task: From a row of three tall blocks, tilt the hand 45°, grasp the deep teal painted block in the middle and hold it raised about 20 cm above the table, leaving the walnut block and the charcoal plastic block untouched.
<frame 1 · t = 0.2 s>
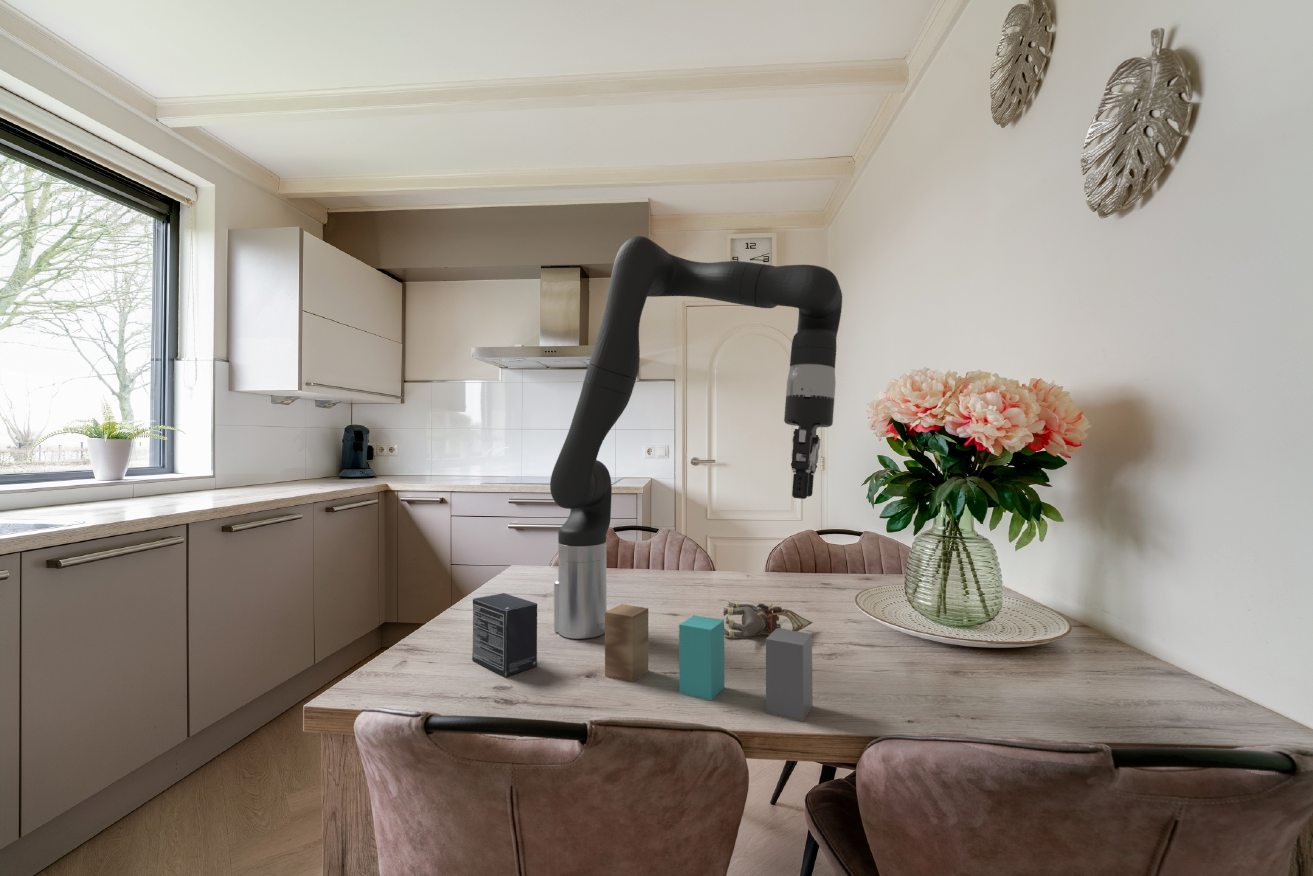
hand: (802, 497, 91), 28 cm above the table, tool pointing down, fingers open, 8 cm apart
walnut block: (626, 673, 90), on the table
small box: (505, 664, 95), on the table
charcoal block: (789, 709, 78), on the table
figurine: (768, 635, 109), on the table
teal block: (702, 690, 84), on the table
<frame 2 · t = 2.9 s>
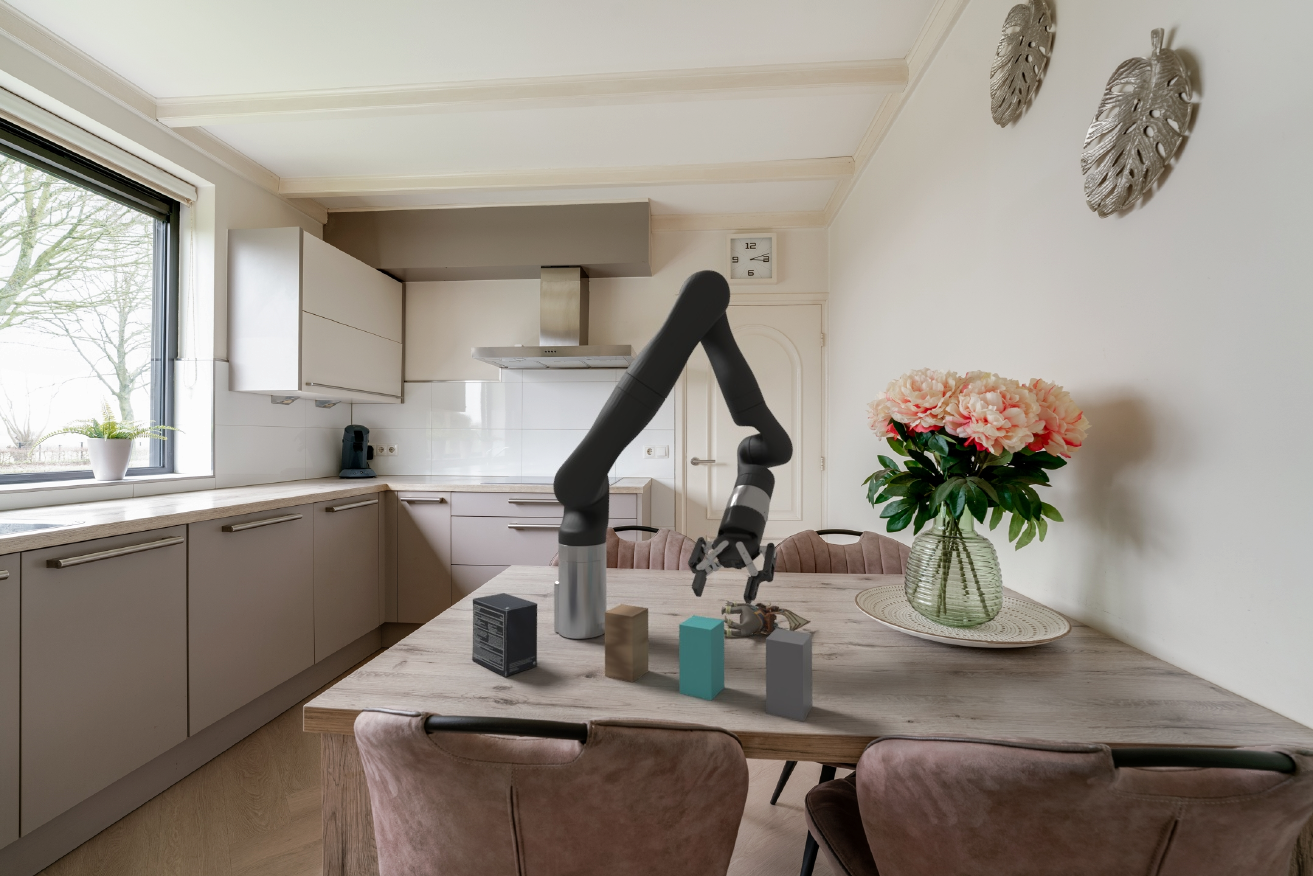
hand: (721, 597, 91), 12 cm above the table, tool tilted 45°, fingers open, 8 cm apart
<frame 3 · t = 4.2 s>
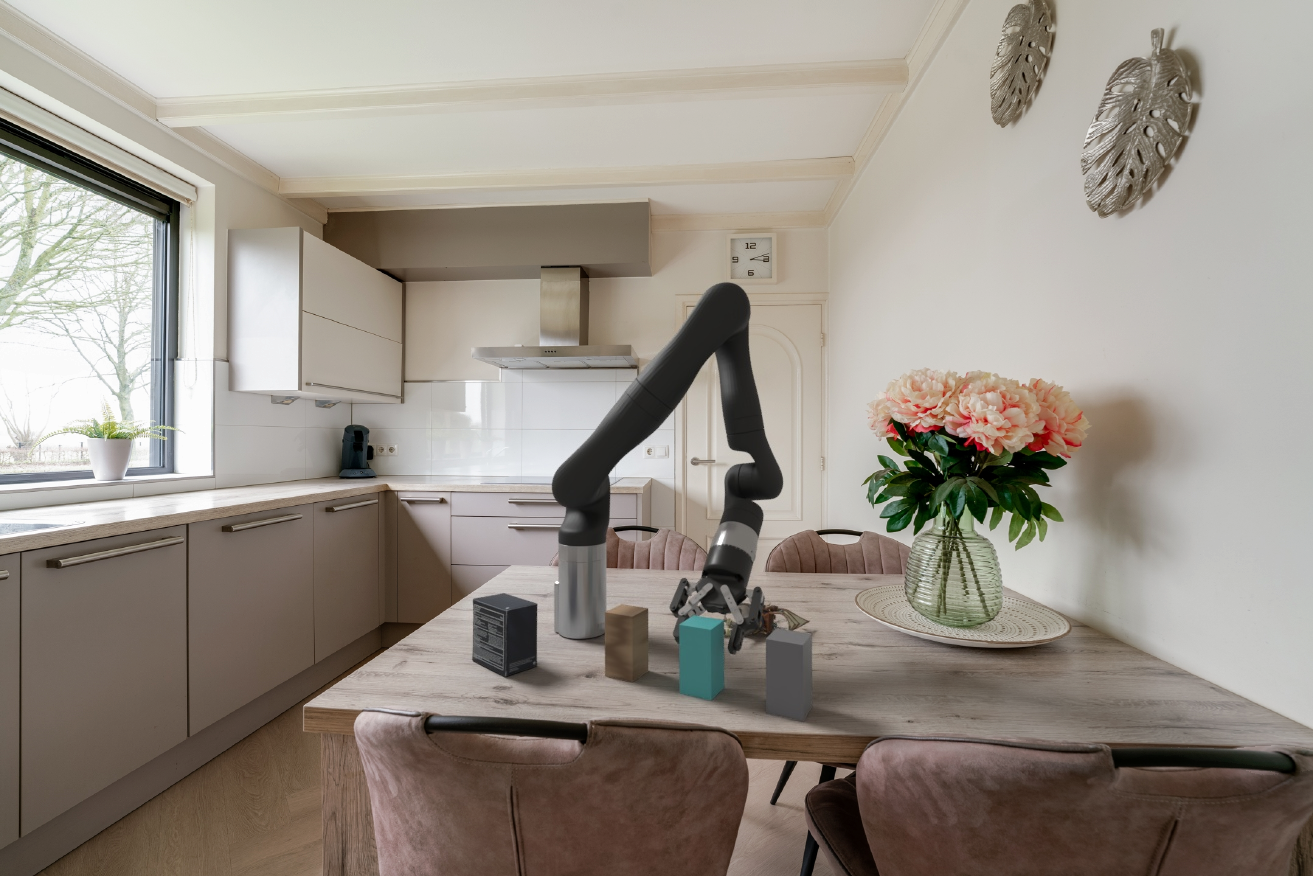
hand: (704, 647, 85), 6 cm above the table, tool tilted 45°, fingers open, 8 cm apart
nothing on the table moved.
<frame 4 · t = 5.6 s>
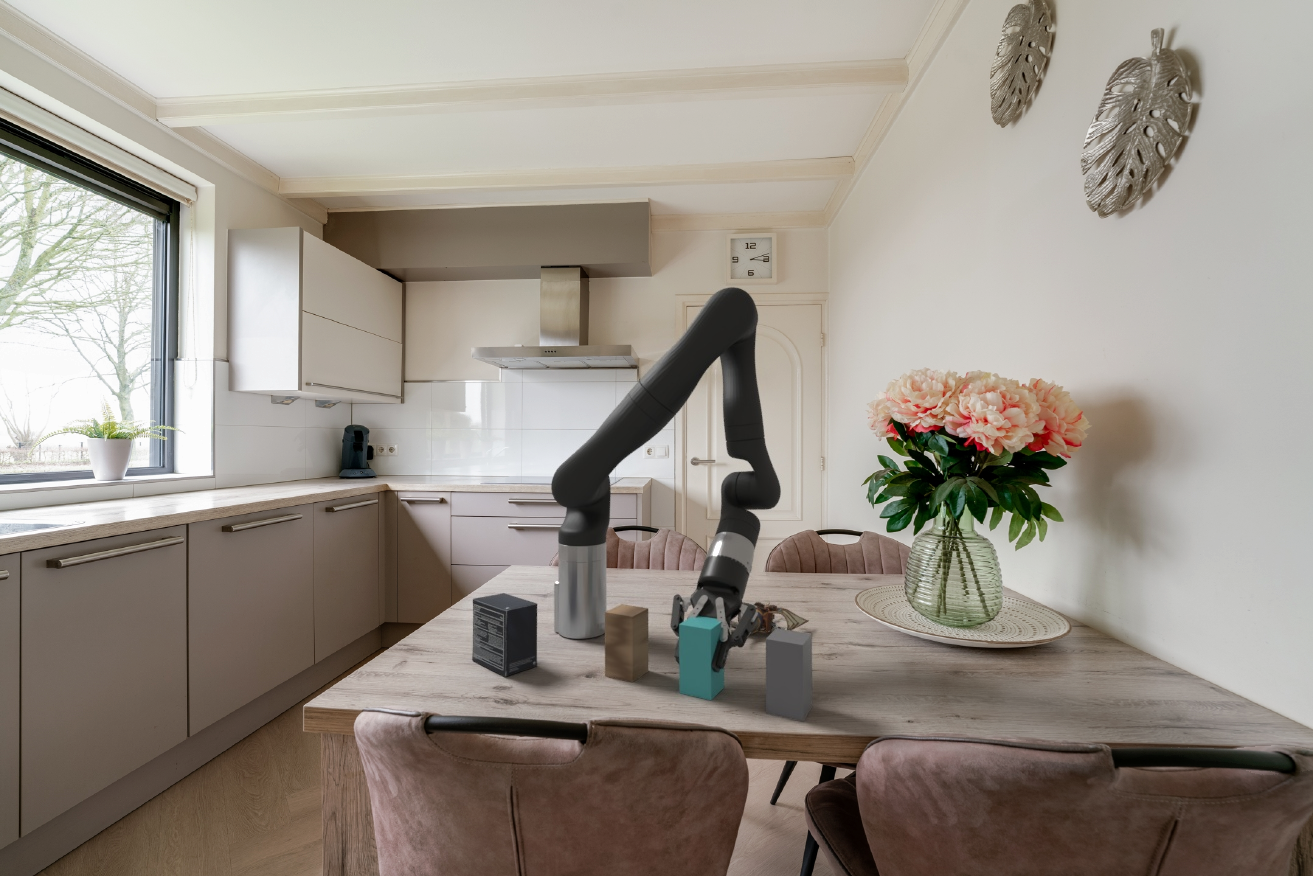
hand: (697, 665, 83), 4 cm above the table, tool tilted 45°, fingers closed on teal block, 5 cm apart
teal block: (702, 690, 84), on the table, touching gripper
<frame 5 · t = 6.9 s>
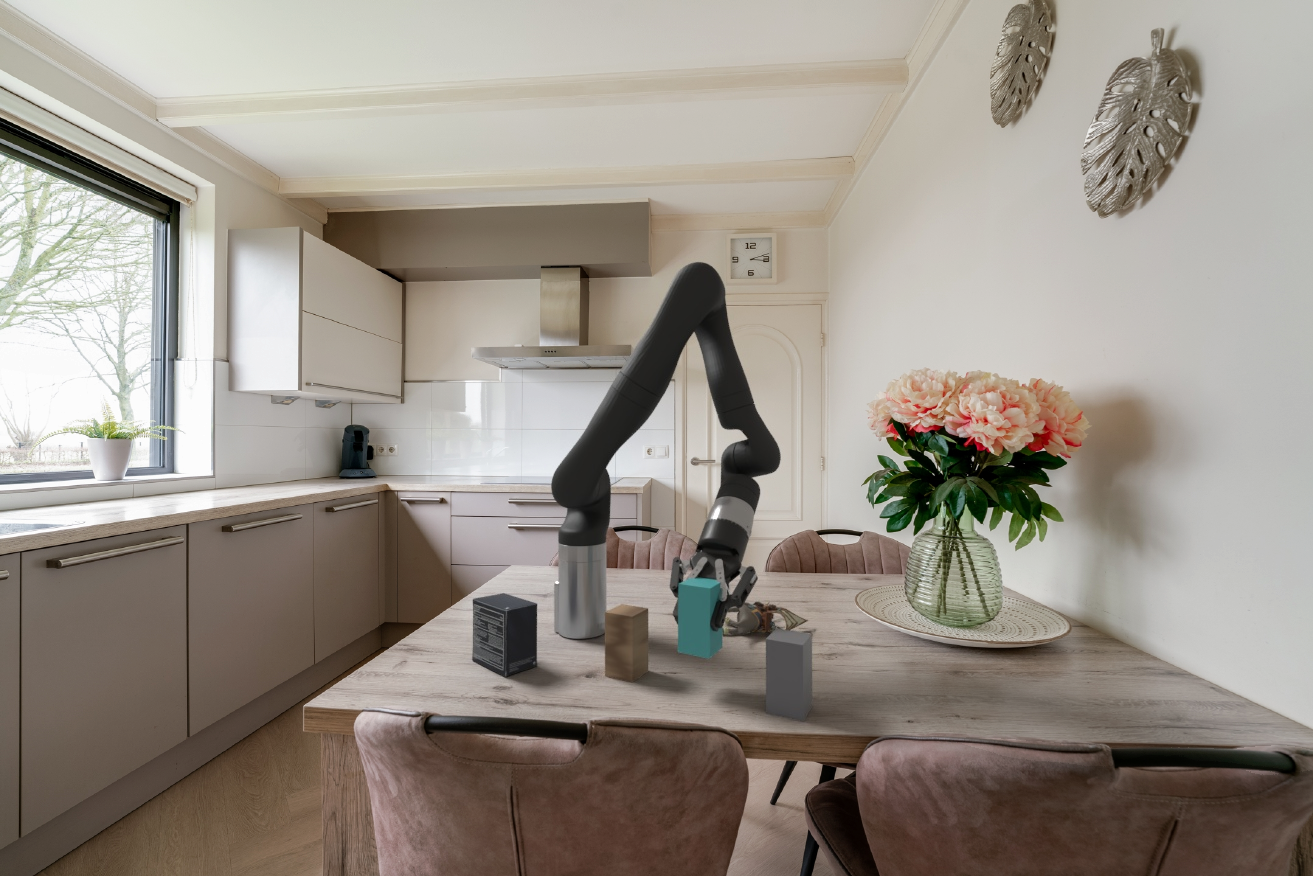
hand: (695, 624, 83), 10 cm above the table, tool tilted 45°, fingers closed on teal block, 5 cm apart
teal block: (700, 649, 85), point 6 cm above the table, touching gripper
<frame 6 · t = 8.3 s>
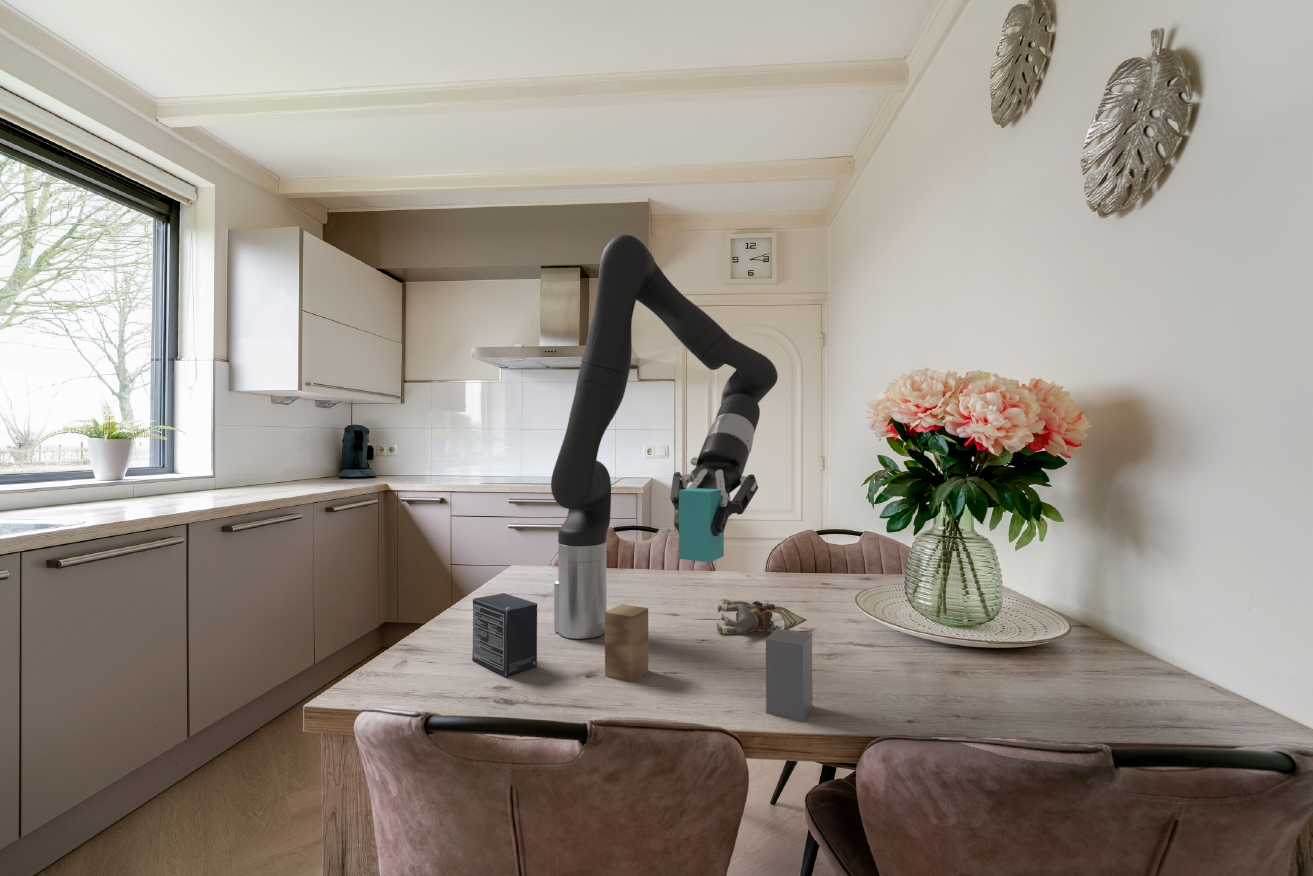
hand: (696, 530, 83), 24 cm above the table, tool tilted 45°, fingers closed on teal block, 5 cm apart
teal block: (701, 557, 84), point 19 cm above the table, touching gripper
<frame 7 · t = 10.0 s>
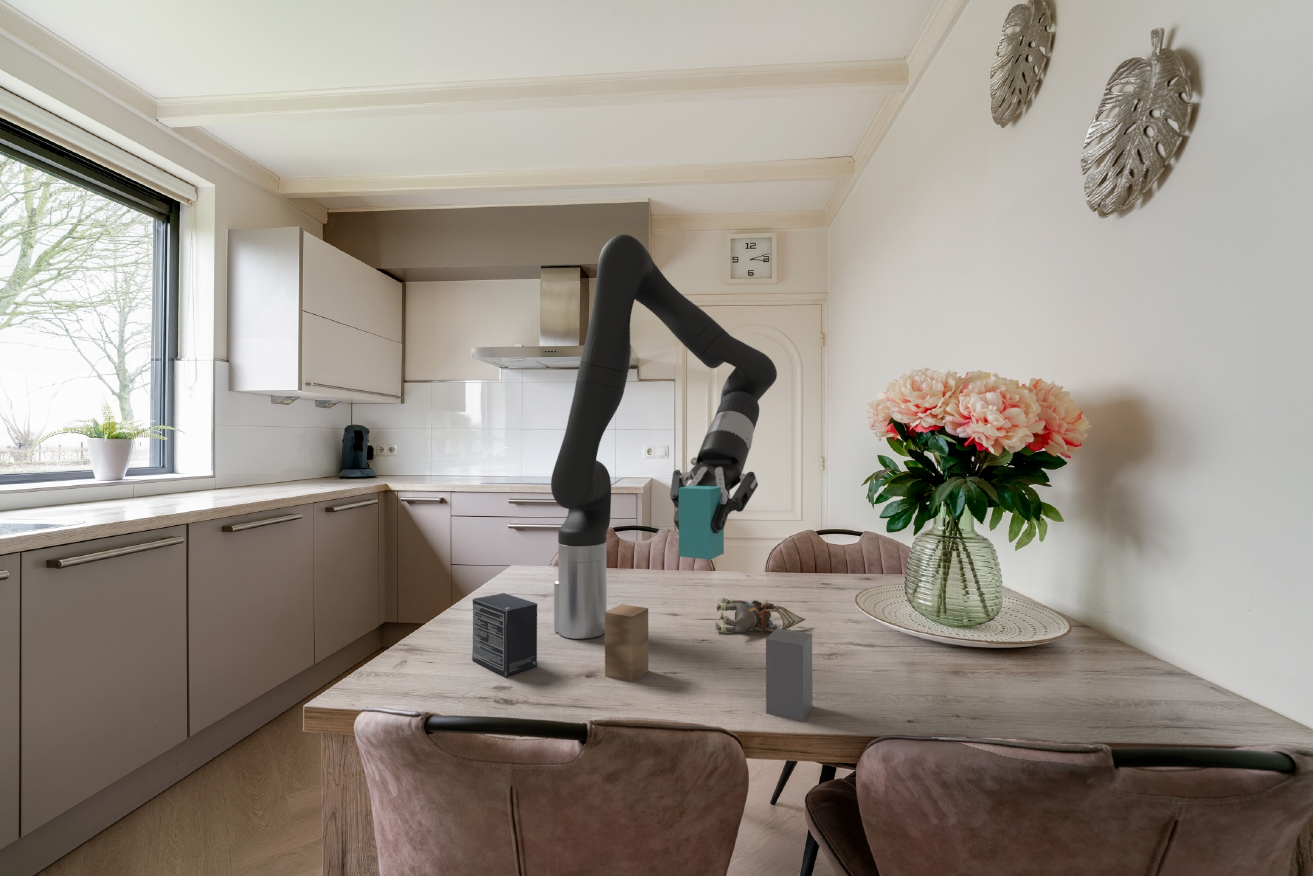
hand: (696, 528, 83), 24 cm above the table, tool tilted 45°, fingers closed on teal block, 5 cm apart
teal block: (701, 554, 84), point 20 cm above the table, touching gripper
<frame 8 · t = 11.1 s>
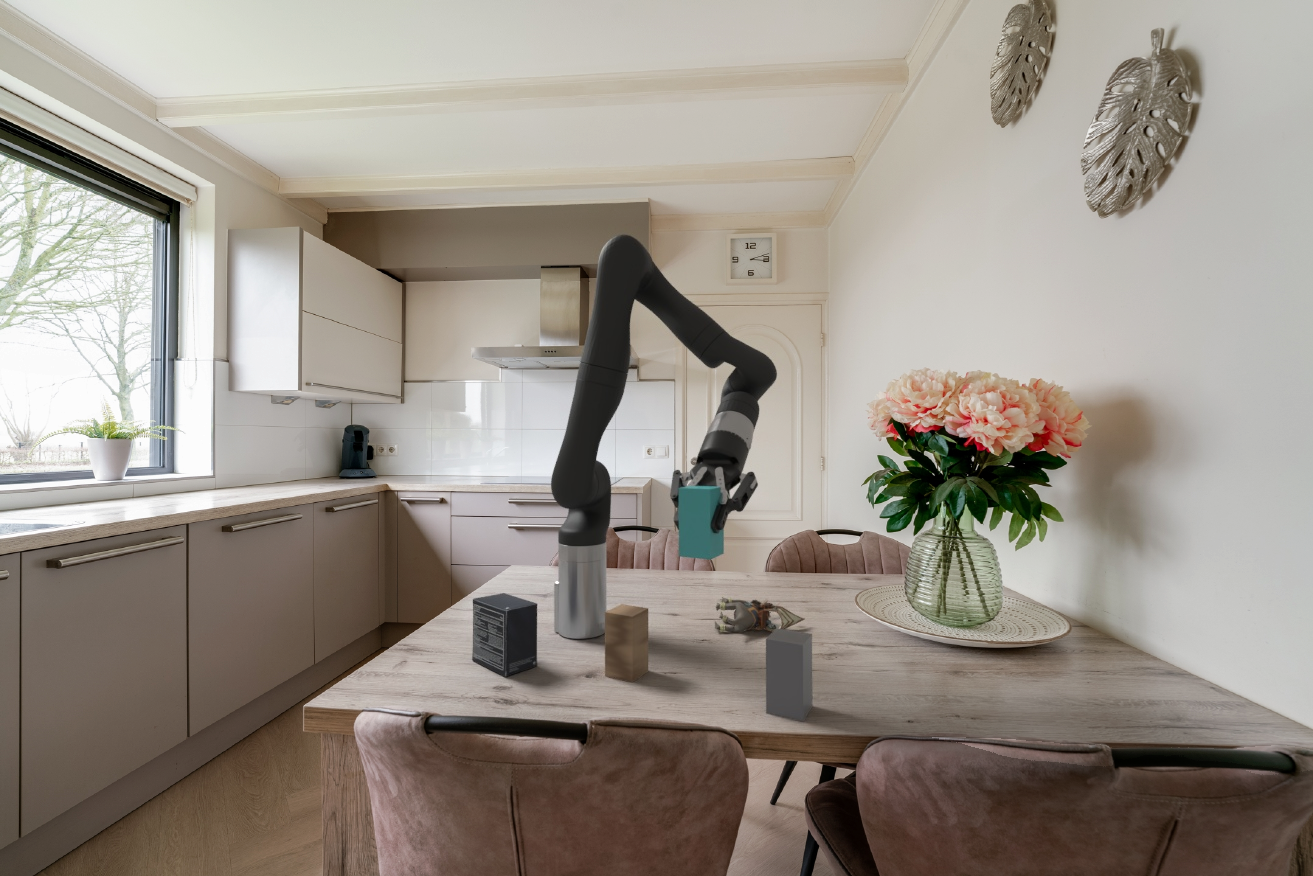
hand: (696, 528, 83), 24 cm above the table, tool tilted 45°, fingers closed on teal block, 5 cm apart
teal block: (701, 554, 84), point 20 cm above the table, touching gripper
at the end: teal block point 19.9 cm above the table; walnut block moved 0.0 cm from its start; charcoal block moved 0.0 cm from its start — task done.
